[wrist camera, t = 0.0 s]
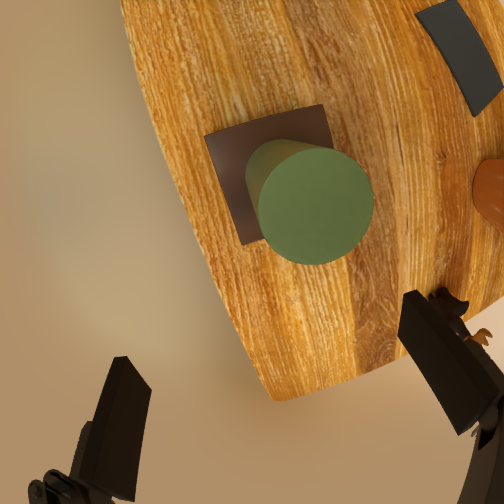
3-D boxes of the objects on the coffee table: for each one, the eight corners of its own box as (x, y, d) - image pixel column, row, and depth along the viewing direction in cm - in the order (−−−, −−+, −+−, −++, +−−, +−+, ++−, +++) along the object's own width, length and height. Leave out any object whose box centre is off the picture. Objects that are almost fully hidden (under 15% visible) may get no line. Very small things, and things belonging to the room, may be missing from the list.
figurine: (421, 276, 34) (483, 341, 20) (453, 267, 34) (514, 322, 21) (409, 330, 39) (453, 394, 25) (440, 318, 39) (485, 375, 25)
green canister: (229, 171, 21) (230, 205, 12) (286, 124, 20) (330, 121, 11) (276, 223, 24) (306, 286, 15) (330, 179, 22) (391, 216, 13)
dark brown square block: (208, 135, 24) (203, 136, 20) (306, 107, 24) (322, 103, 19) (239, 226, 29) (241, 245, 24) (329, 199, 28) (347, 213, 24)
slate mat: (414, 14, 18) (416, 13, 18) (452, -2, 15) (454, -3, 15) (472, 117, 24) (475, 117, 23) (501, 87, 21) (504, 87, 21)
